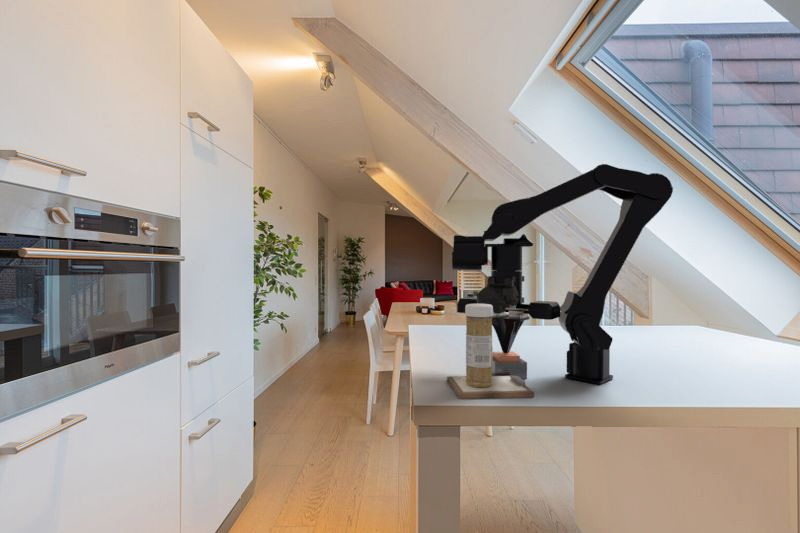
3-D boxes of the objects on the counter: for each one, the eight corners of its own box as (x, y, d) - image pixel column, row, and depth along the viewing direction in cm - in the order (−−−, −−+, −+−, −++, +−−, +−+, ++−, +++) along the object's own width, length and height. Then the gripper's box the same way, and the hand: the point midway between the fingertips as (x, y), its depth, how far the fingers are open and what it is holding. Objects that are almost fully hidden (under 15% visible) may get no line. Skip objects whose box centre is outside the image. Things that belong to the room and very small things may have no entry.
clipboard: (512, 379, 81) (512, 371, 81) (533, 397, 71) (534, 387, 71) (447, 380, 80) (447, 372, 80) (459, 398, 70) (459, 388, 70)
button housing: (515, 370, 88) (516, 355, 88) (526, 378, 82) (527, 362, 82) (486, 371, 88) (486, 355, 88) (495, 379, 82) (495, 362, 82)
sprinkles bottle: (493, 381, 77) (493, 303, 76) (492, 389, 72) (492, 305, 72) (466, 380, 78) (466, 302, 78) (463, 387, 73) (464, 305, 73)
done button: (512, 366, 87) (512, 351, 87) (519, 371, 83) (519, 355, 83) (492, 367, 87) (492, 351, 87) (498, 372, 83) (498, 356, 83)
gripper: (442, 270, 84) (441, 353, 84) (540, 272, 73) (540, 367, 73) (470, 270, 93) (469, 345, 93) (561, 271, 82) (560, 356, 82)
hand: (506, 352), depth 85 cm, fingers closed
